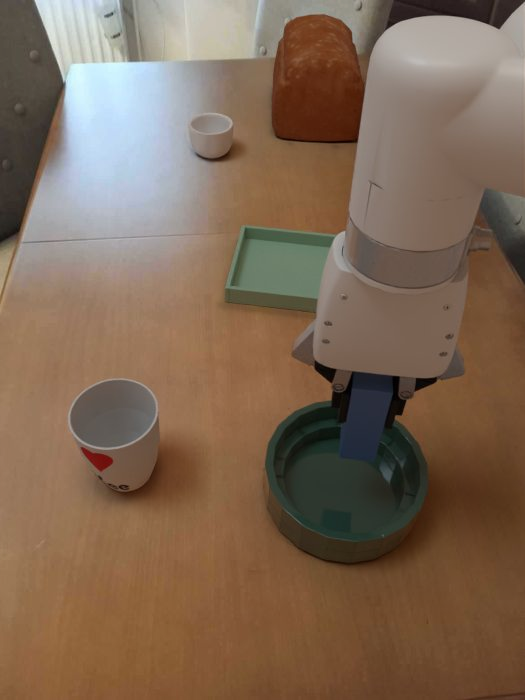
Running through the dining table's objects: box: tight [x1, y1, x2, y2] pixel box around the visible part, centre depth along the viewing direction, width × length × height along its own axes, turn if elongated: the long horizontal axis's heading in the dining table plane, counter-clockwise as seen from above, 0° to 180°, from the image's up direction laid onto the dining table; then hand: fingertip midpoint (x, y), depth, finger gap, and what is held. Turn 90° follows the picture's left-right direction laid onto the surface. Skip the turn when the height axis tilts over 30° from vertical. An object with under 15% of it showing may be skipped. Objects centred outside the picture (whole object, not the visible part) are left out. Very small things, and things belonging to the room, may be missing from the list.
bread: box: [271, 13, 365, 142], centre depth 112 cm, size 17×24×15 cm
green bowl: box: [262, 399, 430, 564], centre depth 59 cm, size 16×16×5 cm
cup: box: [67, 377, 161, 493], centre depth 58 cm, size 8×8×10 cm
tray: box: [224, 224, 338, 313], centre depth 83 cm, size 19×14×2 cm
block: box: [339, 371, 393, 462], centre depth 52 cm, size 3×3×10 cm
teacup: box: [187, 112, 234, 159], centre depth 105 cm, size 10×8×5 cm
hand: (364, 411), depth 51 cm, fingers closed on block, 3 cm apart
